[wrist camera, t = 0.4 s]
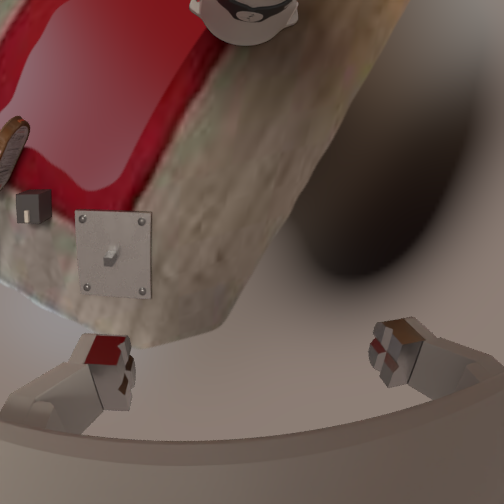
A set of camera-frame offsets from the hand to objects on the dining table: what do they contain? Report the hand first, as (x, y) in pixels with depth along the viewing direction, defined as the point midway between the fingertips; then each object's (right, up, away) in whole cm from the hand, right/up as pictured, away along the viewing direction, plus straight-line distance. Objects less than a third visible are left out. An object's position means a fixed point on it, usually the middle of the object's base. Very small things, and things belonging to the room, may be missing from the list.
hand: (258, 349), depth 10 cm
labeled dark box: (-39, +12, +39) cm, 56 cm away
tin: (-44, +21, +35) cm, 60 cm away
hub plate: (-25, +3, +44) cm, 51 cm away
